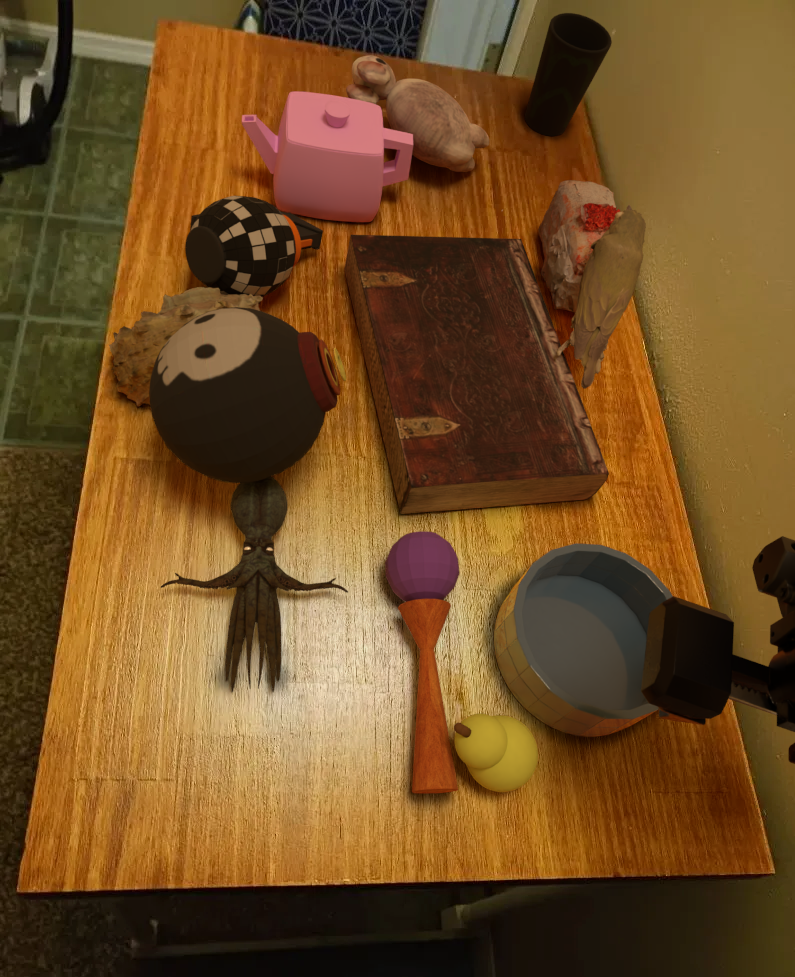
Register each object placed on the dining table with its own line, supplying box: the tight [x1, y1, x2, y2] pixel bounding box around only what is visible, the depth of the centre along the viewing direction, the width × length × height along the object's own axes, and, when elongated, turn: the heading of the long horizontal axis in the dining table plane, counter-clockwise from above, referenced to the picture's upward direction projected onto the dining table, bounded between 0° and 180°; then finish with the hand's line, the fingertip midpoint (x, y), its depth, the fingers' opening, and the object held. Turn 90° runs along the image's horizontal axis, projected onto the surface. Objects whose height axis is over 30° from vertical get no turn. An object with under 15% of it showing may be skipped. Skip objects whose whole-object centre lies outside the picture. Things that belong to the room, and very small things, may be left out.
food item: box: [537, 179, 622, 314], centre depth 87 cm, size 14×8×10 cm, turn 5°
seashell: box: [108, 286, 264, 407], centre depth 72 cm, size 11×14×10 cm
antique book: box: [344, 234, 610, 515], centre depth 78 cm, size 29×19×5 cm, turn 12°
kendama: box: [384, 530, 460, 794], centre depth 63 cm, size 6×6×20 cm
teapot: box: [241, 90, 413, 223], centre depth 86 cm, size 18×10×10 cm, turn 92°
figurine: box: [160, 476, 349, 693], centre depth 64 cm, size 14×6×18 cm
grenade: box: [184, 195, 324, 298], centre depth 79 cm, size 11×10×15 cm
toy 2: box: [345, 54, 504, 212], centre depth 91 cm, size 28×8×15 cm
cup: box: [524, 12, 613, 137], centre depth 101 cm, size 8×8×12 cm
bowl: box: [493, 542, 674, 738], centre depth 66 cm, size 14×14×6 cm
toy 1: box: [149, 307, 347, 484], centre depth 63 cm, size 14×14×15 cm
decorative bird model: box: [556, 204, 647, 390], centre depth 78 cm, size 5×20×5 cm, turn 164°
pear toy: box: [453, 713, 539, 793], centre depth 59 cm, size 5×5×9 cm
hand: (726, 733), depth 54 cm, fingers open, 9 cm apart
